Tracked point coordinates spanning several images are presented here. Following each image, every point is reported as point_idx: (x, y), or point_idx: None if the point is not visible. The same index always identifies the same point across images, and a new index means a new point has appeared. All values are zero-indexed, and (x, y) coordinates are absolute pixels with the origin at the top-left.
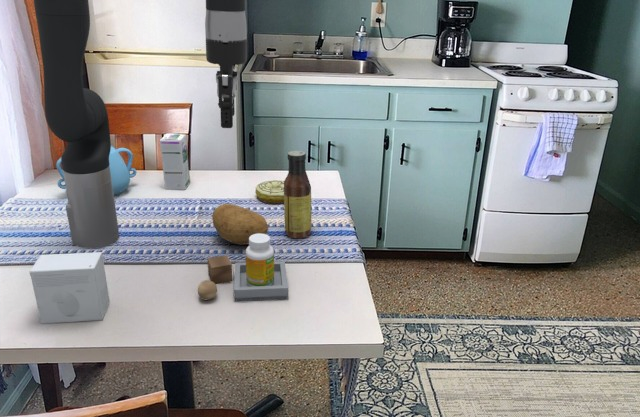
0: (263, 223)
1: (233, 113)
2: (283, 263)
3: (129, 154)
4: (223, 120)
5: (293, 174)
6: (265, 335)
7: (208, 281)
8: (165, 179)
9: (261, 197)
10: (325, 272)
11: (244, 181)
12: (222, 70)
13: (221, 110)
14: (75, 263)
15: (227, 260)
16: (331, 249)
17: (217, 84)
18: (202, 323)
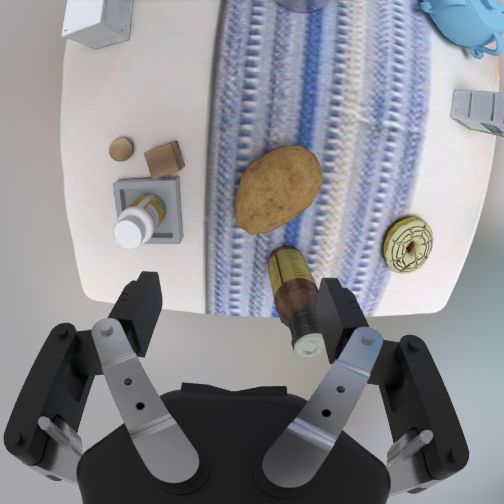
0: (246, 230)
1: (318, 313)
2: (174, 241)
3: (495, 50)
4: (121, 296)
5: (292, 315)
6: (74, 213)
7: (116, 153)
8: (464, 92)
9: (396, 224)
10: (183, 280)
11: (458, 204)
12: (83, 499)
13: (120, 316)
14: (75, 11)
15: (163, 172)
16: (237, 293)
17: (121, 413)
18: (85, 151)
